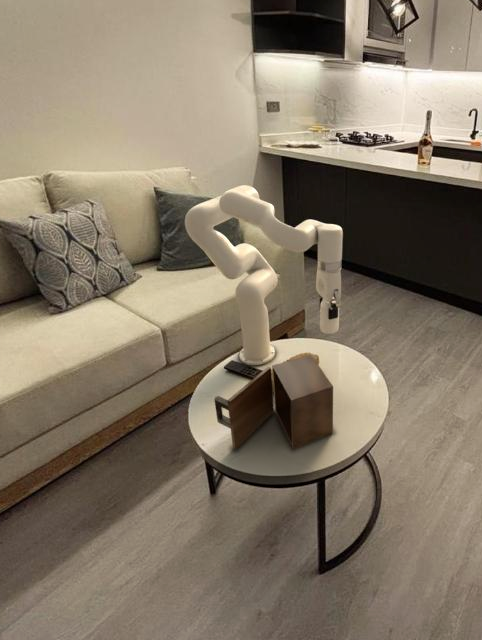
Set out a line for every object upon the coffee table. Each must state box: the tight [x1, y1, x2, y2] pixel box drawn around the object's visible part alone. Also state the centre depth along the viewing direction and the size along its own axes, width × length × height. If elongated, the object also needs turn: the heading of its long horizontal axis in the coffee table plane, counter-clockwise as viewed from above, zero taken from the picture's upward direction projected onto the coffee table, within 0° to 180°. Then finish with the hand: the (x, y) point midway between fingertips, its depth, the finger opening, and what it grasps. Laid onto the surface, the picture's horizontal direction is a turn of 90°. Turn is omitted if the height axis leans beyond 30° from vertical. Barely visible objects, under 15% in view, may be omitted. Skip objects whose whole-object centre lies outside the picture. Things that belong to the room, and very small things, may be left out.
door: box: [214, 366, 275, 450], centre depth 116 cm, size 8×16×17 cm, turn 153°
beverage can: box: [319, 297, 340, 335], centre depth 135 cm, size 6×6×12 cm
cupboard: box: [271, 355, 334, 450], centre depth 118 cm, size 12×16×17 cm
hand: (328, 312), depth 134 cm, fingers closed on beverage can, 6 cm apart
